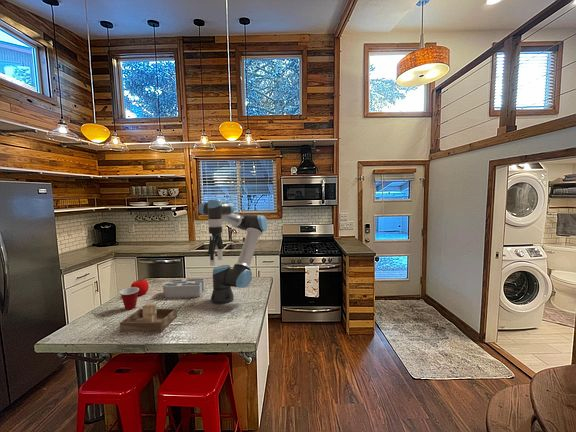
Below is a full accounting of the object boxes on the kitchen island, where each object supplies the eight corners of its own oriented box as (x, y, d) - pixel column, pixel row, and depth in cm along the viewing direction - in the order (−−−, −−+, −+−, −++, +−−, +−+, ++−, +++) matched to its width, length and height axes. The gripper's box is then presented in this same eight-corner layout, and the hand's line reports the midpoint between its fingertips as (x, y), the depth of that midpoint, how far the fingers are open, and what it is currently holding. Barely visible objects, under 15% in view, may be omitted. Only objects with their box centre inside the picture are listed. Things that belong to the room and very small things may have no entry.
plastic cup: (119, 313, 165) (117, 294, 164) (121, 306, 175) (120, 288, 174) (139, 310, 170) (138, 291, 169) (140, 304, 180) (139, 286, 179)
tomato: (150, 295, 196) (149, 280, 195) (131, 298, 190) (130, 283, 189) (147, 290, 206) (146, 276, 205) (130, 293, 200) (129, 278, 199)
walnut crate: (140, 316, 160) (140, 308, 159) (177, 317, 159) (176, 308, 158) (120, 332, 142) (119, 322, 141) (161, 332, 141) (160, 323, 140)
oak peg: (148, 320, 153) (147, 303, 152) (157, 320, 153) (156, 303, 152) (143, 324, 148) (142, 306, 147) (152, 324, 148) (151, 306, 147)
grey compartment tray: (200, 297, 191) (199, 285, 190) (159, 298, 189) (158, 286, 188) (206, 289, 207) (205, 278, 206) (168, 290, 206) (168, 279, 205)
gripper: (214, 228, 143) (216, 268, 145) (227, 224, 168) (228, 257, 169) (200, 228, 144) (202, 268, 145) (215, 224, 168) (216, 257, 170)
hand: (216, 262), depth 157 cm, fingers open, 13 cm apart
